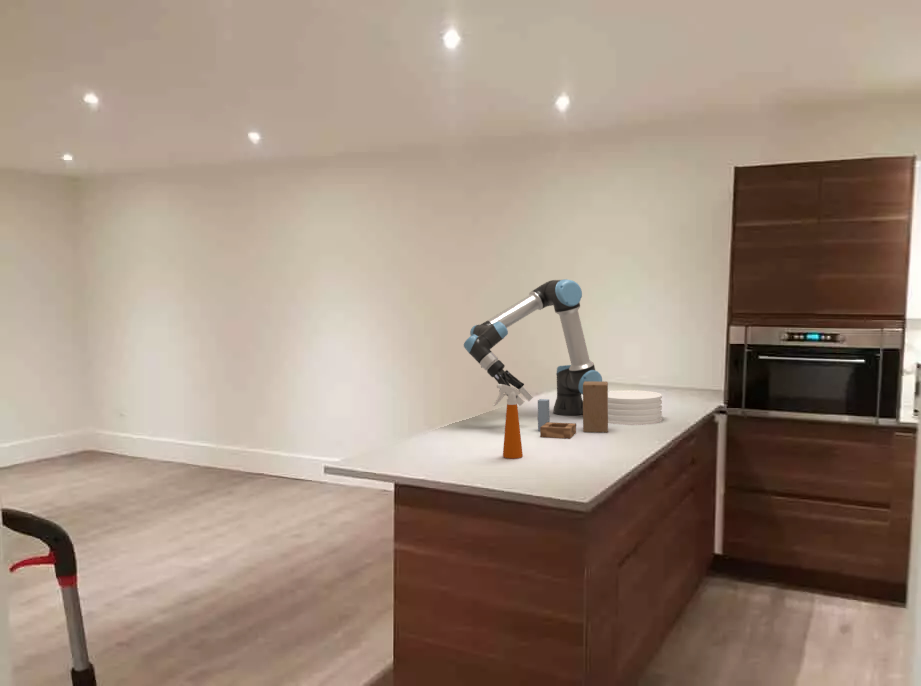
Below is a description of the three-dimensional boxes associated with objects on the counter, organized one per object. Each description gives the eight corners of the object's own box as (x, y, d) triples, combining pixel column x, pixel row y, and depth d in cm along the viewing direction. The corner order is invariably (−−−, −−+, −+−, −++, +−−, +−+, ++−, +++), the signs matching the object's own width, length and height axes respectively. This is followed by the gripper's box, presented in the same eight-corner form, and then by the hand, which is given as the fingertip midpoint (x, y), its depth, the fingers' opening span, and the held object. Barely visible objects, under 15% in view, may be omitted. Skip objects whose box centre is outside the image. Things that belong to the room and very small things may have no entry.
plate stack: (674, 421, 330) (674, 396, 329) (620, 427, 320) (620, 400, 319) (637, 412, 356) (637, 388, 355) (586, 417, 346) (586, 392, 345)
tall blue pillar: (540, 429, 317) (540, 399, 316) (549, 429, 316) (549, 399, 315) (538, 431, 313) (537, 400, 312) (547, 431, 312) (547, 400, 311)
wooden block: (607, 432, 307) (607, 384, 306) (583, 432, 309) (582, 384, 308) (608, 428, 317) (607, 381, 316) (584, 427, 319) (583, 381, 318)
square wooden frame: (547, 431, 312) (547, 422, 312) (576, 433, 308) (576, 423, 307) (540, 437, 301) (540, 427, 300) (569, 438, 297) (569, 428, 296)
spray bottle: (490, 456, 267) (488, 383, 266) (517, 453, 271) (516, 381, 269) (498, 460, 261) (496, 385, 259) (526, 457, 265) (525, 383, 263)
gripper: (495, 368, 333) (528, 403, 328) (477, 374, 309) (512, 412, 305) (507, 356, 330) (540, 391, 326) (489, 361, 307) (524, 399, 303)
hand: (526, 401), depth 315 cm, fingers open, 13 cm apart
